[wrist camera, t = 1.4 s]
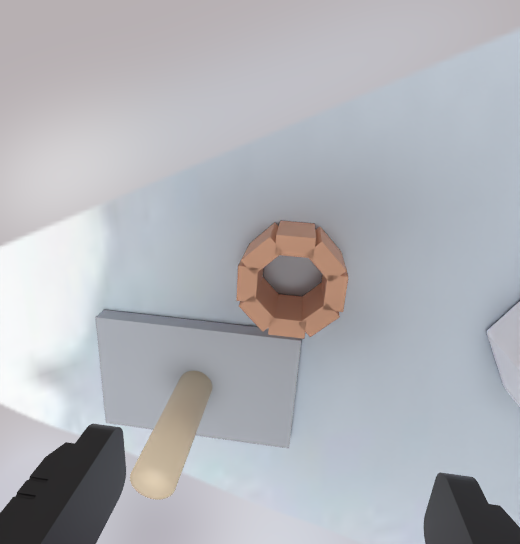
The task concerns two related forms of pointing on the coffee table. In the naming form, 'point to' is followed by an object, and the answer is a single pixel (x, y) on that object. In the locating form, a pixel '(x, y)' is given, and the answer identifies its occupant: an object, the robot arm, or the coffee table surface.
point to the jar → (508, 350)
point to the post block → (193, 387)
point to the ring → (286, 308)
